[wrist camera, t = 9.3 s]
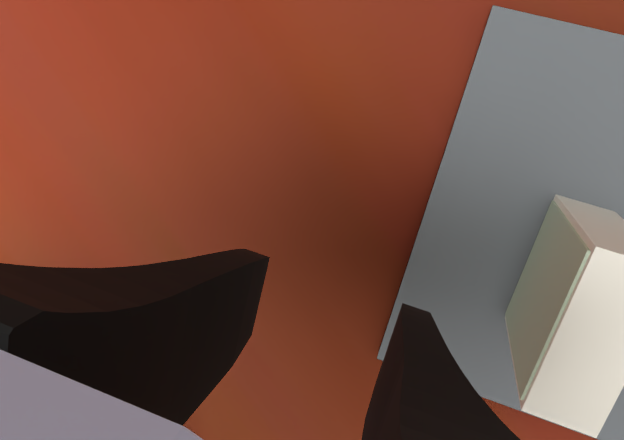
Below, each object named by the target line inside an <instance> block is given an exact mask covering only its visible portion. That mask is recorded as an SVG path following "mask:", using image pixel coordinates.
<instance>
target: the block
mask: <svg viewBox="0 0 624 440" xmlns="http://www.w3.org/2000/svg"><path fill="white" fill-rule="evenodd" d="M505 321H506V327H507V332H508V338H509V344H510V350H511V355H512V361H513V367H514V372H515V378H516V384H517V389H518V395H519V401H520V407H521V411H524V412H526V413H529V414H532V415H534V416H537V417H540V418H543V419H545V420H548V421H551V422H553V423H556V424H559V425H562V426H564V427H567V428H570V429H572V430H575V431H578V432H581V433H583V434H586V435H589V436H591V437H594V438H597V436H598V434H599V432H600V431H601V429H602V427H603V425H604V423H605V421H606V419H607V417H608V415H609V413H610V411H611V410H612V408H613V406H614V404H615V402H616V400H617V398H618V396H619V394H620V392H621V390H622V389H623V387H624V219H623V218H622V217H620V216H619V215H618V214H617V213H616V212H615V211H611V210H608V209H604V208H601V207H597V206H594V205H591V204H587V203H584V202H580V201H577V200H573V199H570V198H567V197H563V196H560V195H555V197H554V199H553V200H552V201H551V204H550V206H549V209H548V211H547V213H546V216H545V218H544V221H543V223H542V226H541V228H540V230H539V233H538V235H537V238H536V240H535V243H534V245H533V247H532V250H531V252H530V255H529V257H528V259H527V262H526V264H525V267H524V269H523V272H522V274H521V276H520V279H519V281H518V284H517V286H516V289H515V291H514V293H513V296H512V298H511V301H510V303H509V305H508V308H507V310H506V313H505Z"/></svg>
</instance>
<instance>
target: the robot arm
mask: <svg viewBox="0 0 624 440" xmlns="http://www.w3.org/2000/svg"><path fill="white" fill-rule="evenodd" d="M269 258H270V257H267V256H264V255H261V254H258V253H255V252H252V251H250V250H247V249H235V250H229V251H223V252H218V253H213V254H207V255H202V256H197V257H192V258H187V259H181V260H175V261H168V262H161V263H155V264H148V265H140V266H129V267H113V268H52V267H35V266H23V265H13V264H4V263H0V440H203V439H202V438H201V437H199V436H198V435H196V434H195V433H193V432H192V431H190V430H189V429H187V428H186V427H184V426H182V425H183V424H184V423H185V422H186V421H187V420H188V418H189V417H190V416H191V415H192V414H193V413H194V411H195V410H196V409H197V408H198V407H199V405H200V404H201V403H202V402H203V401H204V400H205V398H206V397H207V396H208V395H209V394H210V392H211V391H212V390H213V389H214V388H215V387H216V385H217V384H218V383H219V382H220V381H221V379H222V378H223V377H224V376H225V375H226V373H227V372H228V371H229V370H230V368H231V367H232V366H233V364H234V363H235V361H236V359H237V358H238V356H239V355H240V353H241V351H242V350H243V348H244V346H245V345H246V343H247V341H248V340H249V338H250V336H251V335H252V331H253V326H254V322H255V318H256V314H257V309H258V305H259V301H260V296H261V292H262V288H263V284H264V279H265V275H266V271H267V266H268V262H269ZM362 440H520V439H519V438H518V437H517V436H516V435H515V434H514V433H513V432H512V431H511V430H510V429H509V428H508V427H507V426H506V425H505V424H504V423H503V422H502V421H501V420H500V419H499V418H498V417H497V416H496V414H495V413H494V412H493V411H492V410H491V409H490V407H489V406H488V405H487V404H486V403H485V402H484V400H483V399H482V398H481V397H480V395H479V394H478V393H477V392H476V390H475V389H474V388H473V386H472V385H471V383H470V382H469V380H468V379H467V378H466V376H465V375H464V373H463V372H462V370H461V369H460V367H459V366H458V364H457V362H456V361H455V359H454V358H453V356H452V354H451V352H450V351H449V349H448V347H447V345H446V343H445V341H444V339H443V337H442V335H441V333H440V331H439V329H438V327H437V325H436V323H435V321H434V319H433V317H432V315H431V313H430V312H428V311H425V310H422V309H419V308H416V307H413V306H410V305H407V304H404V303H402V306H401V309H400V312H399V315H398V318H397V321H396V324H395V327H394V330H393V333H392V336H391V339H390V342H389V345H388V348H387V351H386V354H385V357H384V360H383V363H382V366H381V369H380V372H379V375H378V378H377V381H376V384H375V387H374V391H373V394H372V398H371V401H370V404H369V408H368V411H367V415H366V418H365V423H364V429H363V435H362Z"/></svg>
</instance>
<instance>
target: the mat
mask: <svg viewBox="0 0 624 440" xmlns="http://www.w3.org/2000/svg"><path fill="white" fill-rule="evenodd" d="M555 195H560V196H563V197H567V198H570V199H573V200H577V201H580V202H584V203H587V204H591V205H594V206H597V207H601V208H604V209H608V210H611V211H615V212H616V213H617V214H618V215H619V216H620V217H622V218H623V219H624V35H620V34H616V33H611V32H607V31H603V30H598V29H594V28H590V27H585V26H581V25H577V24H572V23H568V22H563V21H559V20H555V19H550V18H546V17H542V16H537V15H533V14H529V13H524V12H520V11H516V10H511V9H507V8H503V7H498V6H494V5H493V6H492V9H491V12H490V15H489V18H488V21H487V24H486V27H485V30H484V33H483V36H482V39H481V42H480V46H479V49H478V52H477V55H476V58H475V61H474V64H473V67H472V70H471V73H470V76H469V79H468V82H467V85H466V88H465V91H464V94H463V97H462V100H461V103H460V106H459V109H458V112H457V115H456V119H455V122H454V125H453V128H452V131H451V134H450V137H449V140H448V143H447V146H446V149H445V152H444V155H443V158H442V161H441V164H440V167H439V170H438V173H437V176H436V179H435V182H434V185H433V188H432V192H431V195H430V198H429V201H428V204H427V207H426V210H425V213H424V216H423V219H422V222H421V225H420V228H419V231H418V234H417V237H416V240H415V243H414V246H413V249H412V252H411V255H410V258H409V261H408V265H407V268H406V271H405V274H404V277H403V280H402V283H401V286H400V289H399V292H398V295H397V298H396V301H395V304H394V307H393V310H392V313H391V316H390V319H389V322H388V325H387V328H386V331H385V335H384V338H383V341H382V344H381V347H380V350H379V353H378V356H377V359H380V360H382V361H383V360H384V357H385V354H386V351H387V348H388V345H389V342H390V339H391V336H392V333H393V330H394V327H395V324H396V321H397V318H398V315H399V312H400V309H401V306H402V303H404V304H407V305H410V306H413V307H416V308H419V309H422V310H425V311H428V312H430V313H431V315H432V317H433V319H434V321H435V323H436V325H437V327H438V329H439V331H440V333H441V335H442V337H443V339H444V341H445V343H446V345H447V347H448V349H449V351H450V352H451V354H452V356H453V358H454V359H455V361H456V362H457V364H458V366H459V367H460V369H461V370H462V372H463V373H464V375H465V376H466V378H467V379H468V380H469V382H470V383H471V385H472V386H473V388H474V389H475V390H476V392H477V393H478V394H479V395H480V396H481V397H483V398H486V399H489V400H492V401H494V402H497V403H500V404H503V405H505V406H508V407H511V408H514V409H516V410H519V411H521V407H520V401H519V395H518V389H517V384H516V378H515V372H514V367H513V361H512V355H511V350H510V344H509V338H508V332H507V327H506V321H505V313H506V310H507V308H508V305H509V303H510V301H511V298H512V296H513V293H514V291H515V289H516V286H517V284H518V281H519V279H520V276H521V274H522V272H523V269H524V267H525V264H526V262H527V259H528V257H529V255H530V252H531V250H532V247H533V245H534V243H535V240H536V238H537V235H538V233H539V230H540V228H541V226H542V223H543V221H544V218H545V216H546V213H547V211H548V209H549V206H550V204H551V201H552V200H553V199H554V197H555ZM522 412H524V411H522ZM524 413H526V412H524ZM527 414H529V413H527ZM530 415H532V414H530ZM533 416H534V415H533ZM535 417H537V416H535ZM538 418H540V417H538ZM541 419H543V418H541ZM544 420H545V419H544ZM546 421H548V420H546ZM549 422H551V421H549ZM552 423H553V422H552ZM555 424H556V423H555ZM557 425H559V424H557ZM560 426H562V425H560ZM563 427H564V426H563ZM565 428H567V427H565ZM568 429H570V428H568ZM571 430H572V429H571ZM574 431H575V430H574ZM576 432H578V431H576ZM579 433H581V432H579ZM582 434H583V433H582ZM585 435H586V434H585ZM587 436H589V435H587ZM590 437H591V436H590ZM593 438H594V437H593ZM596 439H598V440H624V387H623V389H622V390H621V392H620V394H619V396H618V398H617V400H616V402H615V404H614V406H613V408H612V410H611V411H610V413H609V415H608V417H607V419H606V421H605V423H604V425H603V427H602V429H601V431H600V432H599V434H598V436H597V438H596Z"/></svg>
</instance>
